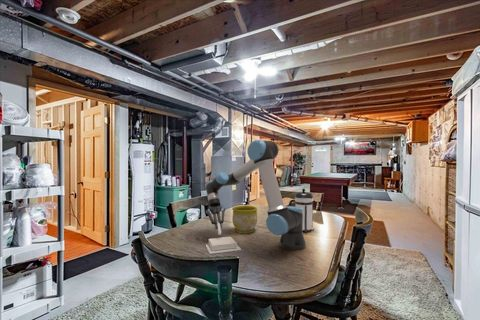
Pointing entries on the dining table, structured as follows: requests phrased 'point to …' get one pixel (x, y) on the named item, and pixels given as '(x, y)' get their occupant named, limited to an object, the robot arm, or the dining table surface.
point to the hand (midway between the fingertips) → (219, 233)
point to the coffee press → (305, 208)
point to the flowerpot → (244, 218)
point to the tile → (222, 243)
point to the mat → (222, 250)
